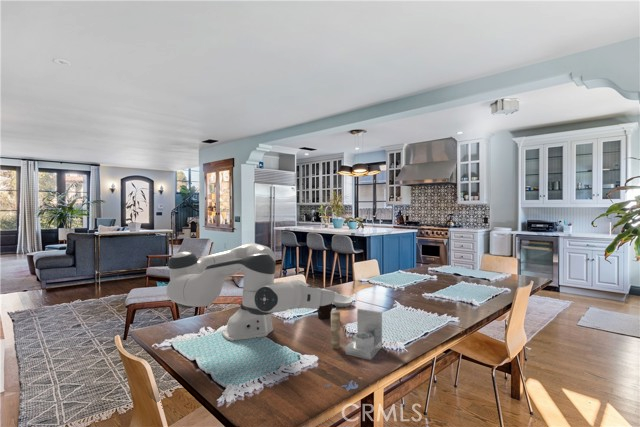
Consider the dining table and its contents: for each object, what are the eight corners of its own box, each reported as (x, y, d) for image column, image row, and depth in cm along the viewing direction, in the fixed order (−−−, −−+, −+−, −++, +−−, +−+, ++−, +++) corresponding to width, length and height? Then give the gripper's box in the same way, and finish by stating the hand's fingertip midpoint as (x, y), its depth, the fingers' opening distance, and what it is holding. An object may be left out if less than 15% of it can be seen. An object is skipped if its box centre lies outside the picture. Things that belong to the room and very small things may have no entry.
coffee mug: (331, 320, 167) (331, 300, 166) (314, 319, 168) (314, 299, 168) (335, 313, 178) (335, 294, 178) (319, 312, 180) (319, 293, 179)
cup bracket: (370, 360, 124) (370, 321, 124) (345, 354, 129) (345, 317, 129) (382, 347, 135) (382, 312, 135) (358, 342, 140) (358, 308, 140)
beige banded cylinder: (334, 349, 133) (334, 314, 133) (329, 346, 136) (329, 311, 136) (341, 347, 135) (341, 312, 135) (336, 344, 138) (336, 310, 138)
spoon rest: (356, 306, 192) (356, 293, 192) (343, 310, 183) (343, 297, 183) (324, 298, 208) (324, 286, 207) (311, 302, 199) (311, 290, 199)
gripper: (269, 298, 116) (292, 294, 128) (321, 310, 105) (341, 304, 117) (271, 279, 116) (294, 277, 128) (323, 289, 106) (342, 286, 118)
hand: (317, 290), depth 123 cm, fingers open, 8 cm apart
